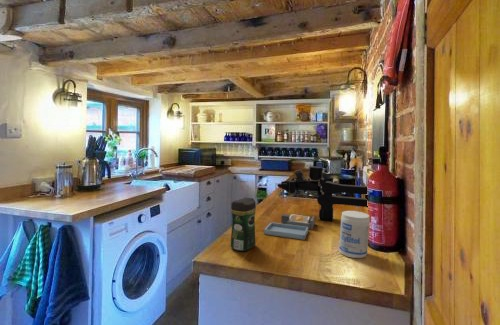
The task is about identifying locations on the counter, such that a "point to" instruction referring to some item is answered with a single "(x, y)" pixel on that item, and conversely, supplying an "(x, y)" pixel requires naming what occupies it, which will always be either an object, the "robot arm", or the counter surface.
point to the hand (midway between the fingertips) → (279, 183)
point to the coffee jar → (243, 224)
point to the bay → (309, 225)
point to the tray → (286, 230)
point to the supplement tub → (354, 234)
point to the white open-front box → (294, 218)
